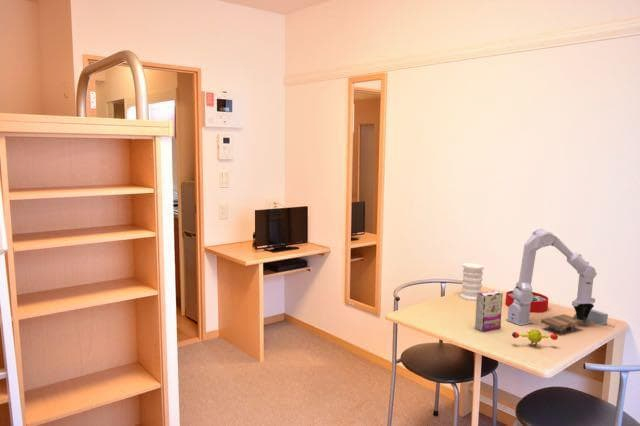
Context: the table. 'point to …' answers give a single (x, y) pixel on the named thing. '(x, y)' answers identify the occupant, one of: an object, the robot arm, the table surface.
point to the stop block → (598, 317)
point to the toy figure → (534, 336)
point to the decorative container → (471, 281)
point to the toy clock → (536, 305)
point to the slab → (561, 321)
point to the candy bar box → (488, 310)
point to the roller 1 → (557, 329)
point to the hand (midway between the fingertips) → (581, 319)
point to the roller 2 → (571, 328)
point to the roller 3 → (584, 320)
